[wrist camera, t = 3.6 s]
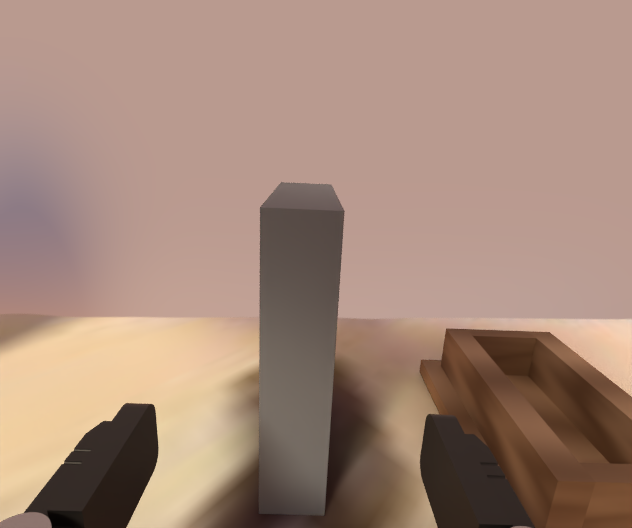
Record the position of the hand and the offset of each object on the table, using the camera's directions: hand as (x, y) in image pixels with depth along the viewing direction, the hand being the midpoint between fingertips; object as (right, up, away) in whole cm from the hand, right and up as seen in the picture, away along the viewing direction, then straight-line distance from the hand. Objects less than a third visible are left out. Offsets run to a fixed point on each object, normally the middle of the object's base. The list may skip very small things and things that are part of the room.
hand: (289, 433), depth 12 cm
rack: (+14, -6, +11) cm, 19 cm away
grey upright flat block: (0, -5, +11) cm, 12 cm away
